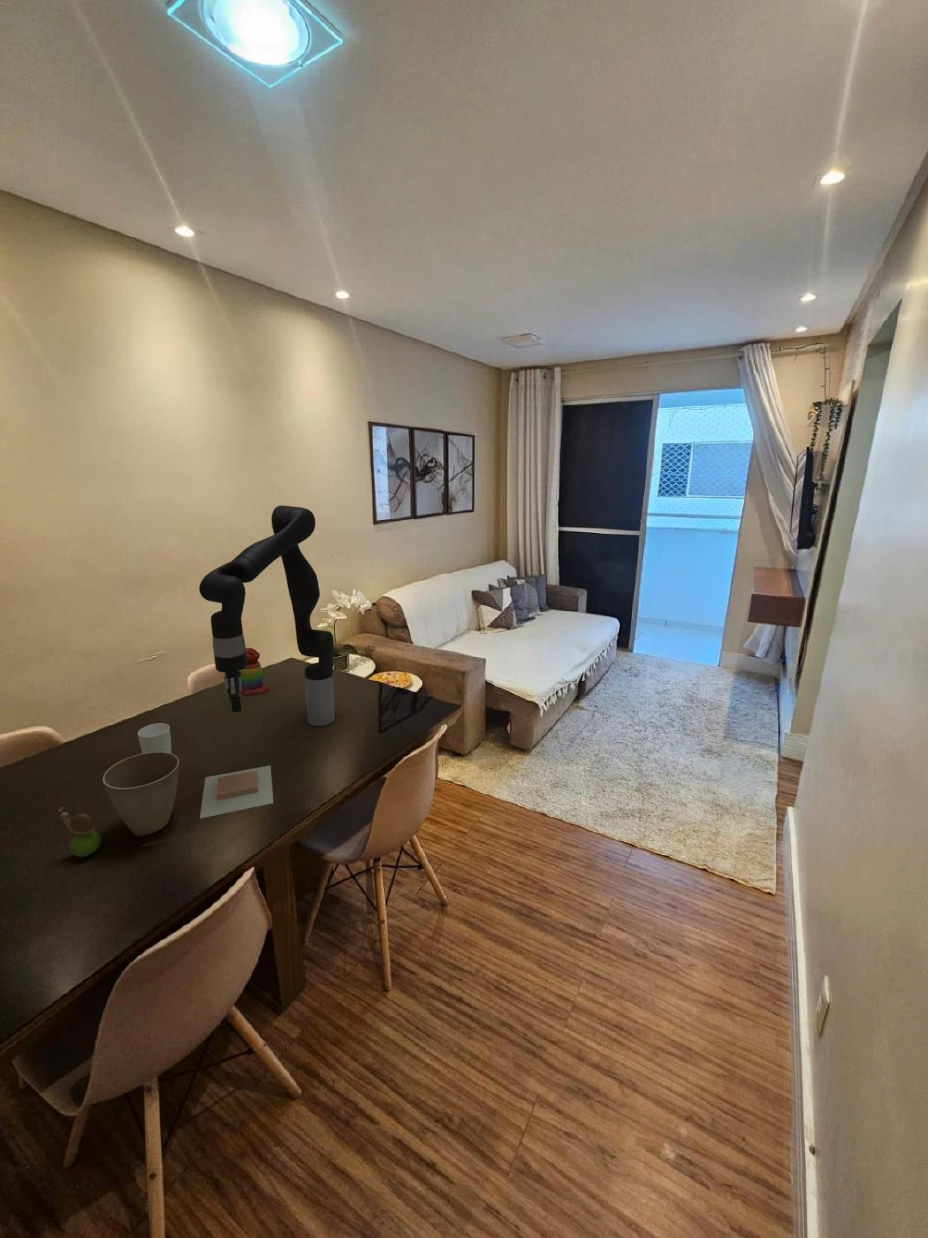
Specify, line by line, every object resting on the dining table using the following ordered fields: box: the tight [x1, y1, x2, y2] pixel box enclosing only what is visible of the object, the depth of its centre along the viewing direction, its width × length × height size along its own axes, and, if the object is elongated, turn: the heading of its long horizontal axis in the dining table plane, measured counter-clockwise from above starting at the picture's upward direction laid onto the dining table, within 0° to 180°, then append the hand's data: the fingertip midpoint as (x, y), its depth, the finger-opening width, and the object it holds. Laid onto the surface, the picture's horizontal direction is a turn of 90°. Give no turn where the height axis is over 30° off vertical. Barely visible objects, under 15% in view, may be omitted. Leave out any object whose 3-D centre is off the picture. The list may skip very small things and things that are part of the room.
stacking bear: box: [239, 647, 270, 696], centre depth 187 cm, size 11×10×18 cm
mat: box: [199, 765, 274, 819], centre depth 130 cm, size 18×17×1 cm
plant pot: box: [102, 752, 180, 837], centre depth 114 cm, size 15×15×16 cm
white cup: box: [137, 722, 172, 754], centre depth 141 cm, size 8×8×10 cm
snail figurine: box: [58, 806, 102, 858], centre depth 106 cm, size 5×6×12 cm
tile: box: [216, 771, 258, 800], centre depth 130 cm, size 2×10×8 cm
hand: (237, 710), depth 129 cm, fingers closed
